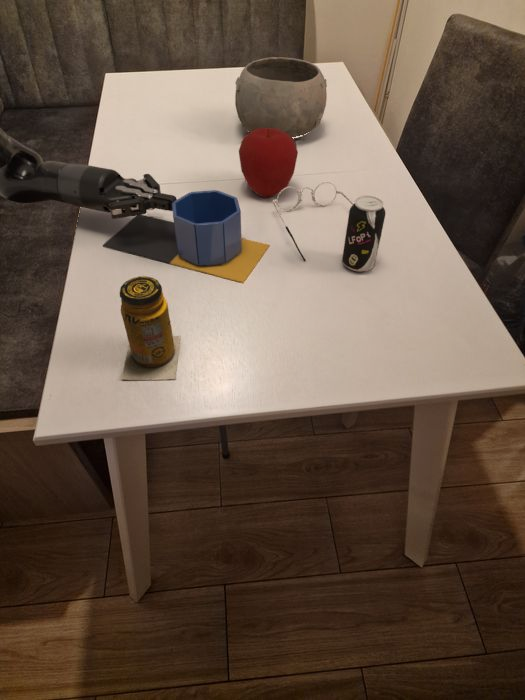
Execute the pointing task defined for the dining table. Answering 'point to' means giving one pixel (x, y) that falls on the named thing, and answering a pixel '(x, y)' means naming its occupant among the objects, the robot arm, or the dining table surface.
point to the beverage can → (363, 233)
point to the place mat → (161, 245)
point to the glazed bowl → (207, 227)
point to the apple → (267, 160)
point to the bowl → (281, 95)
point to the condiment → (148, 331)
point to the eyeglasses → (300, 202)
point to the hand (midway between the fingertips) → (174, 203)
